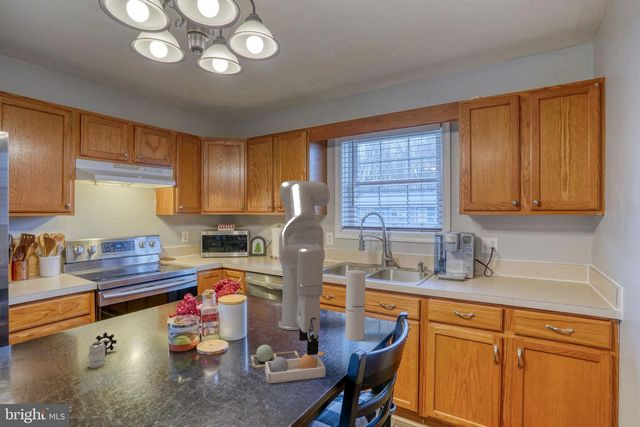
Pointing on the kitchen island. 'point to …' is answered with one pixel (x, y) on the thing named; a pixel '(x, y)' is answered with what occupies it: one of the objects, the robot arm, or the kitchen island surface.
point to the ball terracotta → (308, 362)
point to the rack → (273, 356)
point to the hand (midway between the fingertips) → (308, 347)
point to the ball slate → (279, 365)
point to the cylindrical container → (355, 305)
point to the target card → (319, 353)
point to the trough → (294, 371)
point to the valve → (99, 350)
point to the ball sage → (264, 353)
